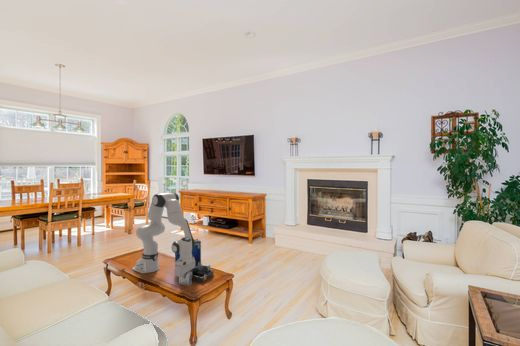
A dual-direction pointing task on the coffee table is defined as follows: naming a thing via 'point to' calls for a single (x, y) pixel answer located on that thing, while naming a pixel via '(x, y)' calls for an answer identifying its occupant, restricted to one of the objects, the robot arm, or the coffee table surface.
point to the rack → (202, 273)
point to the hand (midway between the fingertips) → (185, 277)
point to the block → (186, 279)
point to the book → (194, 254)
